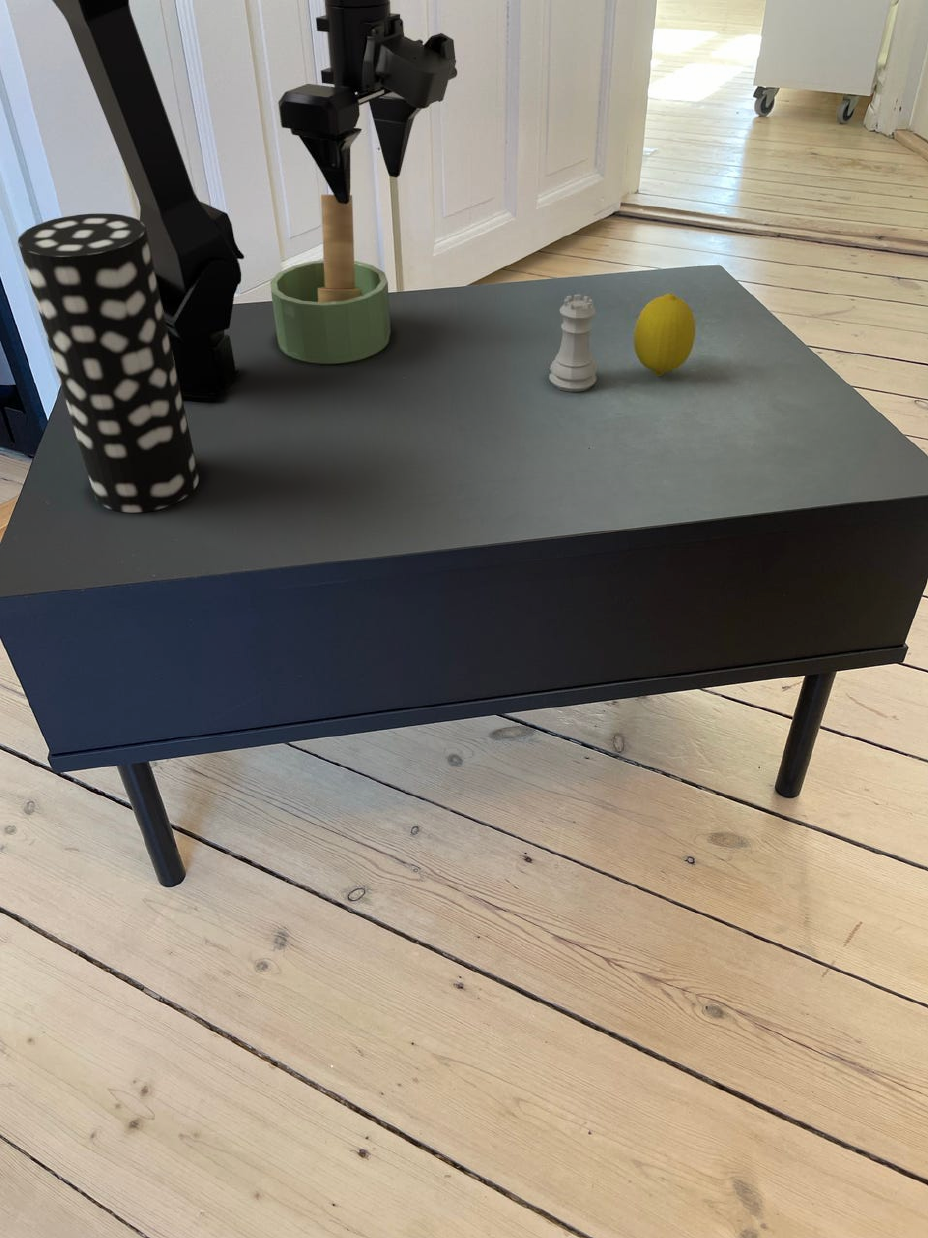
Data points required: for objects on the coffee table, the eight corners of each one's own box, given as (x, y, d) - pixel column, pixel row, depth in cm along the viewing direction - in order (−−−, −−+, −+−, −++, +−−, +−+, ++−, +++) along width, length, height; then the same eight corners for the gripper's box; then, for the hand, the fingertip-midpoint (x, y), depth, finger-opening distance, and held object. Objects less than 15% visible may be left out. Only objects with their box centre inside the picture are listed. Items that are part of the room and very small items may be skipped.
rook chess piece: (593, 395, 90) (601, 312, 85) (545, 391, 91) (550, 308, 85) (598, 373, 93) (605, 292, 88) (552, 369, 94) (556, 288, 89)
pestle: (312, 331, 97) (306, 194, 92) (329, 326, 100) (323, 195, 96) (354, 332, 96) (350, 194, 91) (369, 328, 99) (366, 195, 95)
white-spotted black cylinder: (111, 456, 82) (44, 212, 69) (209, 457, 82) (159, 213, 69) (79, 512, 76) (-3, 256, 63) (184, 513, 76) (125, 256, 63)
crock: (262, 358, 96) (253, 299, 92) (299, 311, 105) (292, 256, 101) (373, 368, 94) (369, 308, 90) (401, 320, 103) (399, 263, 99)
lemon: (623, 382, 92) (632, 300, 87) (638, 358, 96) (647, 278, 90) (681, 393, 90) (694, 309, 85) (693, 367, 94) (706, 286, 89)
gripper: (379, 28, 76) (390, 232, 86) (488, -8, 88) (486, 174, 98) (263, 16, 80) (287, 213, 90) (383, -16, 92) (392, 160, 102)
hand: (369, 189), depth 95 cm, fingers open, 9 cm apart
